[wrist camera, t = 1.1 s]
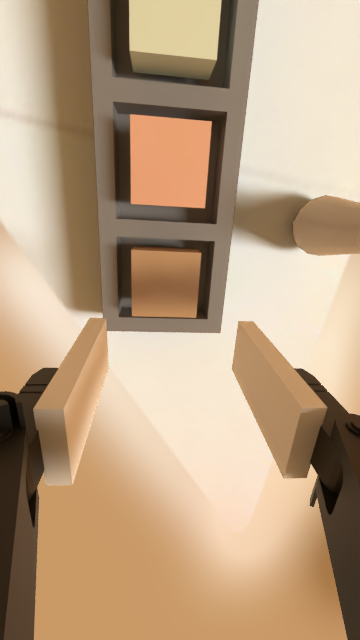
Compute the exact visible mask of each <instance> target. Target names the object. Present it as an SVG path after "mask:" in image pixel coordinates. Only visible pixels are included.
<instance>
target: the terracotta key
mask: <svg viewBox="0 0 360 640" xmlns="http://www.w3.org/2000/svg"><path fill="white" fill-rule="evenodd" d="M211 126H212V121H201V120H190V119H179V118H167V117H156V116H144V115H133V114H130V158H131V204H133V205H148V206H165V207H182V208H199V209H200V208H205V201H206V189H207V176H208V164H209V151H210V139H211Z"/></svg>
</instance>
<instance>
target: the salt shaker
mask: <svg viewBox="0 0 360 640" xmlns="http://www.w3.org/2000/svg"><path fill="white" fill-rule="evenodd" d="M293 236H294V238H295V241H296V244H297V246H298V247H300V248H301V249H302V250H304V251H305V252H306V253H308V254H313V255H319V256H320V255H339V254H358V253H360V203H358V202H354V201H350V200H346V199H342V198H338V197H332V196H326V195H325V196H322V197H319V198H316V199H313V200H310V201H309V202H308V203H307V204H306V205H305V206H304V207H303V208H301V209H300V211H299V213H298V215H297V217H296V219H295V220H294V221H293Z"/></svg>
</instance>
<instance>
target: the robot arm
mask: <svg viewBox="0 0 360 640" xmlns="http://www.w3.org/2000/svg"><path fill="white" fill-rule="evenodd" d="M232 370H233V372H234V374H235V376H236V379H237V381H238V383H239V385H240V387H241V389H242V391H243V393H244V396H245V398H246V400H247V402H248V404H249V406H250V408H251V410H252V412H253V415H254V417H255V419H256V421H257V423H258V425H259V427H260V429H261V432H262V434H263V436H264V438H265V440H266V442H267V444H268V446H269V448H270V451H271V453H272V455H273V457H274V459H275V461H276V463H277V465H278V467H279V470H280V472H281V474H282V476H283V478H307V475H308V471H309V468H310V464H312V466H313V467H314V469H315V471H316V473H317V474H318V476H317V479H316V483H315V486H314V489H313V492H312V495H311V498H310V506H312V507H314V504H315V501H316V498H318V503H319V508H320V512H321V517H322V522H323V526H324V531H325V535H326V540H327V545H328V549H329V554H330V559H331V563H332V568H333V573H334V578H335V582H336V587H337V592H338V596H339V601H340V606H341V610H342V615H343V620H344V624H345V629H346V634H347V638H348V640H360V416H359V415H355V414H349V413H348V412H347V411H346V410H345V409H344V408H343V407H342V405H340V404H339V402H338V401H337V400H336V399H335V398H334V397H333V396H332V395H331V394H330V393H329V392H327V390H326V389H325V388H324V386H323V385H321V383H320V382H319V381H318V380H317V379H316V378H315V377H314V376H313V375H311V374H310V373H308V372H307V371H305V370H303V369H294V368H293V367H292V366H291V365H290V364H289V362H288V361H287V360H286V359H285V358H284V357H283V355H282V354H281V353H280V352H279V351H278V350H277V348H276V347H275V346H274V345H273V344H272V343H271V342H270V340H269V339H268V338H267V337H266V336H265V335H264V333H263V332H262V331H261V330H260V329H259V328H258V327H257V325H256V324H255V323H254V322H244V321H239V322H238V329H237V336H236V343H235V351H234V358H233V365H232ZM107 371H108V348H107V325H106V318H90V319H89V320H88V322H87V324H86V325H85V327H84V328H83V330H82V332H81V333H80V335H79V336H78V338H77V340H76V341H75V343H74V344H73V346H72V348H71V349H70V351H69V353H68V354H67V356H66V357H65V359H64V361H63V362H62V364H61V365H60V367H59V368H43V369H41V370H39V371H38V372H37V373H35V374H33V375H32V376H31V377H30V379H29V380H28V381H27V383H26V384H25V386H24V387H23V388H22V389H21V390H20V393H18V394H16V393H13V392H7V391H5V392H0V640H34V615H35V589H36V563H37V537H38V510H39V495H38V490H37V486H38V483H39V481H40V479H41V476H42V474H43V472H44V478H45V484H46V486H47V485H72V484H73V481H74V478H75V475H76V472H77V468H78V465H79V462H80V459H81V455H82V452H83V449H84V446H85V442H86V439H87V436H88V433H89V429H90V426H91V423H92V420H93V417H94V413H95V410H96V407H97V403H98V400H99V397H100V394H101V390H102V387H103V384H104V381H105V378H106V374H107Z"/></svg>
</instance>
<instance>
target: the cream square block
mask: <svg viewBox="0 0 360 640" xmlns="http://www.w3.org/2000/svg"><path fill="white" fill-rule="evenodd" d="M221 1H222V0H129V42H130V56H131V62H132V68H133V72H135V73H145V74H155V75H165V76H175V77H185V78H195V79H205V80H209V78H210V76H211V73H212V71H213V68H214V66H215V63H216V61H217V51H218V38H219V26H220V13H221Z"/></svg>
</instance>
